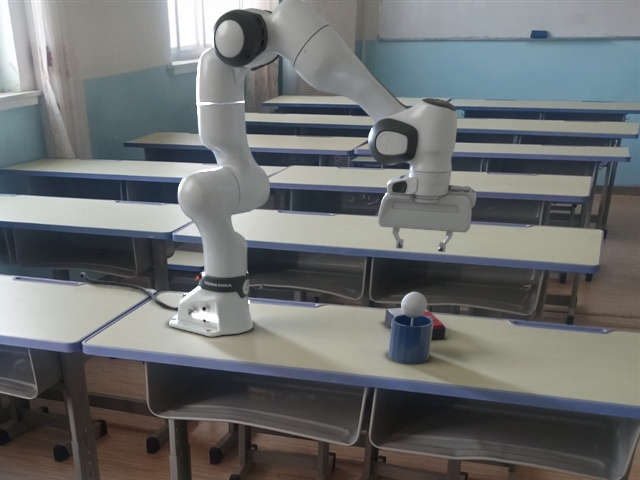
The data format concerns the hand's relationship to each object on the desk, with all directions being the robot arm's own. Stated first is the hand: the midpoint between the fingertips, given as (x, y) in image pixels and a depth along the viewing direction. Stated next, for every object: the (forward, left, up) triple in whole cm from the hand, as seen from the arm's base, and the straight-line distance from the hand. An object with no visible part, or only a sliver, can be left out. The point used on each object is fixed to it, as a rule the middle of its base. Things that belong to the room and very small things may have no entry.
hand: (420, 249), depth 181 cm
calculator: (-4, +19, -25) cm, 32 cm away
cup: (0, 0, -25) cm, 25 cm away
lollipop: (0, 0, -25) cm, 25 cm away
